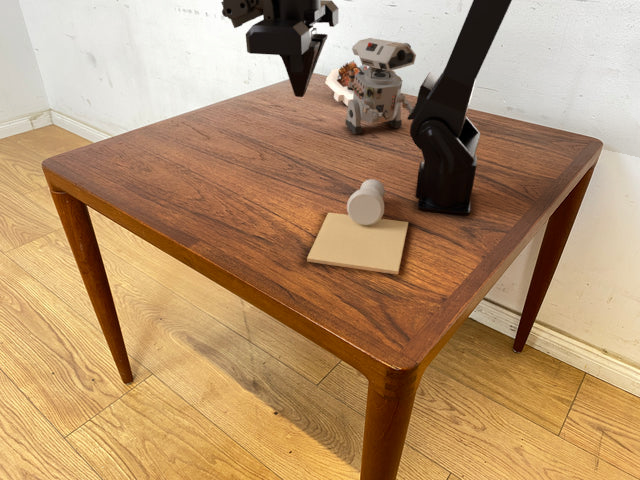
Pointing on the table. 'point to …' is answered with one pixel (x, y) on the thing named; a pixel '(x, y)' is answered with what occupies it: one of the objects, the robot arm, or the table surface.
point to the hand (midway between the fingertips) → (299, 96)
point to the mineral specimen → (342, 82)
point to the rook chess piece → (367, 203)
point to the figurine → (378, 83)
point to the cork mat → (360, 244)
